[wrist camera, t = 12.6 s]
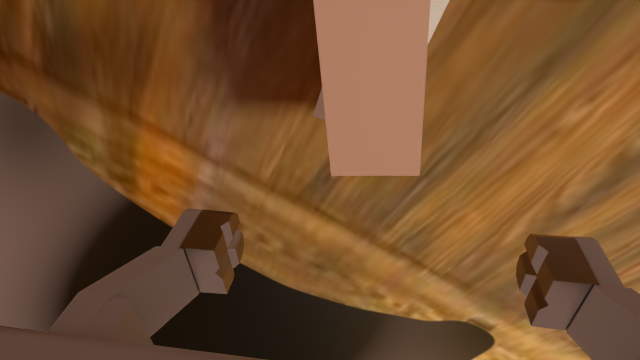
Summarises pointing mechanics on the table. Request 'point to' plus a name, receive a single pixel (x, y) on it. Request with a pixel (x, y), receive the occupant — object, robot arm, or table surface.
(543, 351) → the table surface
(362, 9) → the terracotta brick
